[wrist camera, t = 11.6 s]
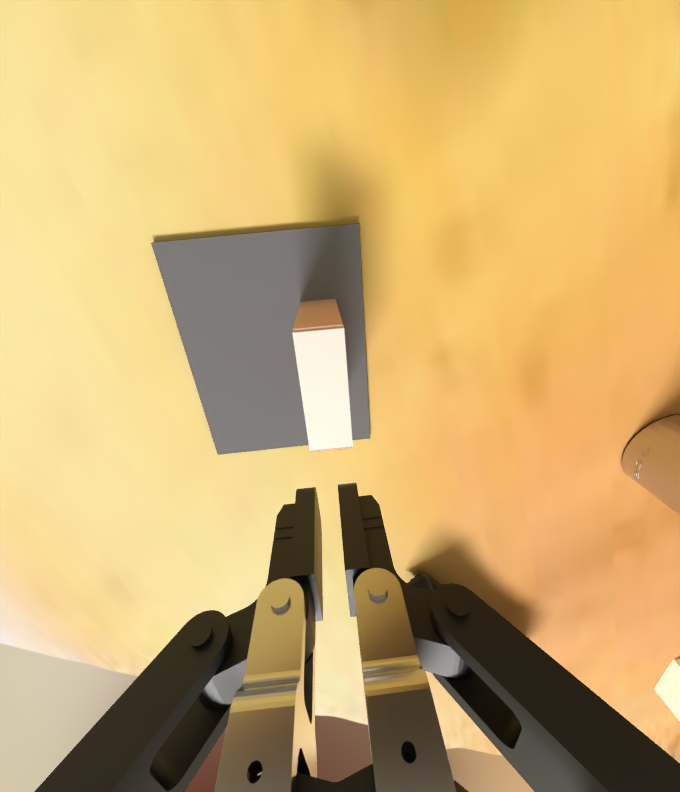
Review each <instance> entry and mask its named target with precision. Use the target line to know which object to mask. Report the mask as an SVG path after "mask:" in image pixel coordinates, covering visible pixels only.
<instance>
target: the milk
mask: <svg viewBox="0 0 680 792" xmlns="http://www.w3.org/2000/svg"><path fill="white" fill-rule="evenodd" d="M654 690H655V691H656V692H657V694H658V695H659V696H660V697H661V699H662V700H663V701H664V702H665V704H666V705H667V706H668V707H669V709H670V710H671V711H672V712H673V713H674V715H675V716H676V717H677V718H678V720H679V721H680V658H678V659H673V661H672V662H671V664H670V665H669V667H668V668H667V670H666V671H665V673H664V674H663V676H662V677H661V679H660V680H659V682H658V684H657V685H656V687H655V688H654Z"/></svg>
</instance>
